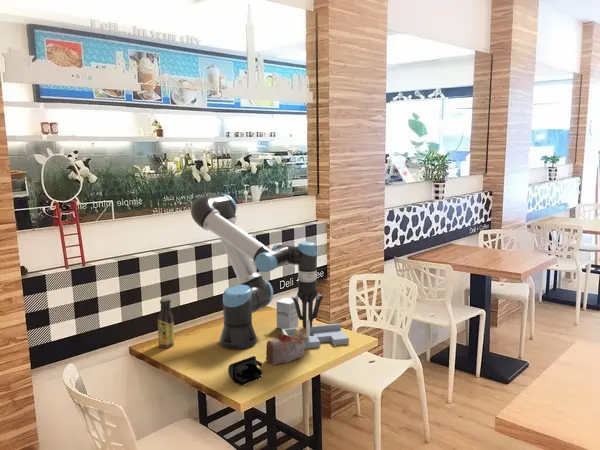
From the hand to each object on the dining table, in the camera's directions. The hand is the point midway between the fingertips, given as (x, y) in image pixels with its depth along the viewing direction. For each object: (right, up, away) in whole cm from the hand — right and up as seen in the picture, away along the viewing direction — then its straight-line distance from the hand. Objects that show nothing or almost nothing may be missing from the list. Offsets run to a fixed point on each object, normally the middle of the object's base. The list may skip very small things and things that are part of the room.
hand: (307, 334), depth 209 cm
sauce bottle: (-58, -4, -1) cm, 58 cm away
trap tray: (+3, -3, +1) cm, 5 cm away
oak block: (-3, -1, -1) cm, 3 cm away
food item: (-9, -6, -15) cm, 19 cm away
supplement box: (-9, -1, +19) cm, 20 cm away
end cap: (-22, -9, -31) cm, 39 cm away
